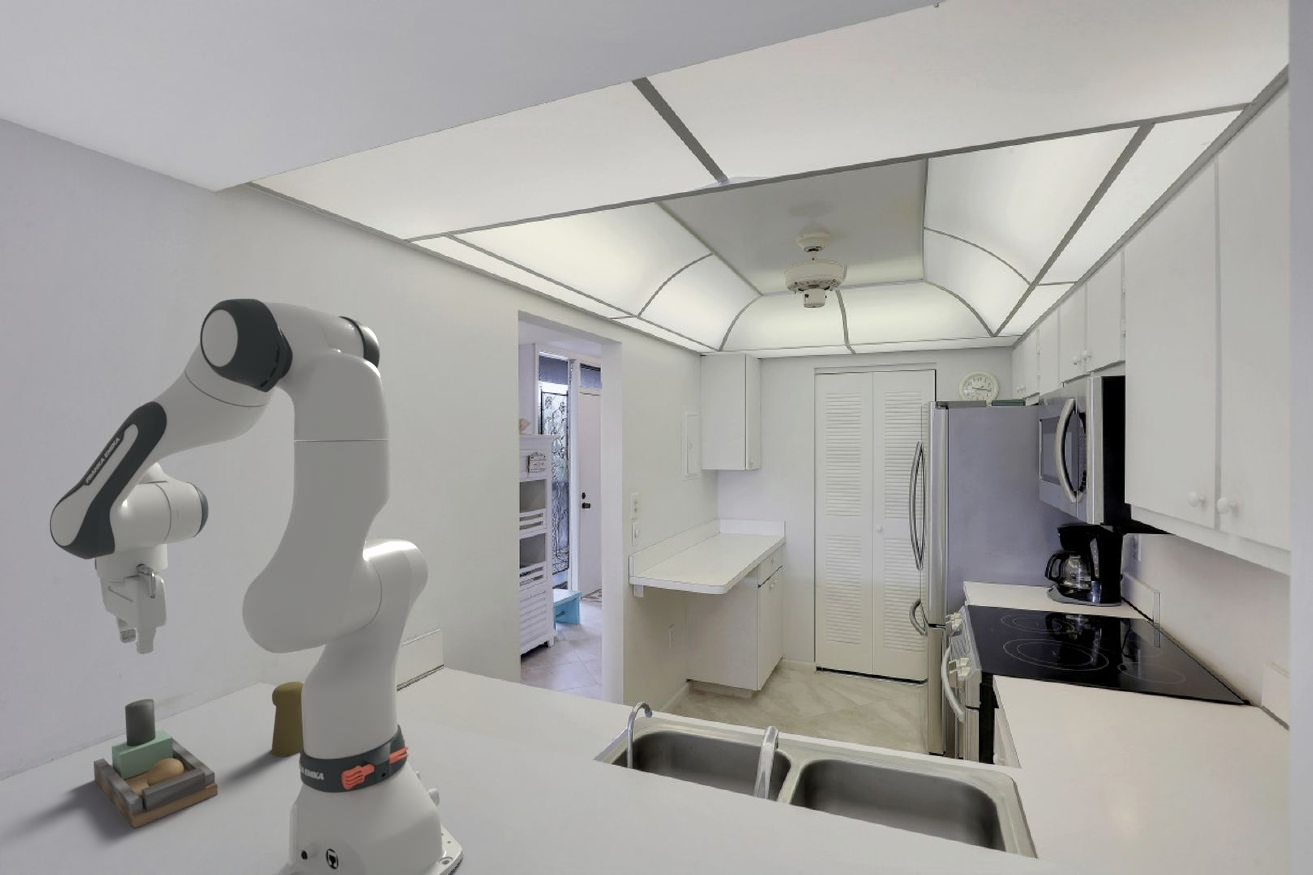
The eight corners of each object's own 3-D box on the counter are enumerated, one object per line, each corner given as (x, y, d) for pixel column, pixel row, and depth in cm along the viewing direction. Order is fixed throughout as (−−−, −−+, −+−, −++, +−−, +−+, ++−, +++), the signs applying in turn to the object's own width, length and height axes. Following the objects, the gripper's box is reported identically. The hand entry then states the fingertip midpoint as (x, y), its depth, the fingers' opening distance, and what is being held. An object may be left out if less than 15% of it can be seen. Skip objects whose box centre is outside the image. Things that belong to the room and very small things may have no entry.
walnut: (188, 786, 96) (187, 757, 96) (152, 800, 92) (151, 770, 92) (179, 777, 98) (177, 749, 98) (143, 791, 95) (142, 762, 95)
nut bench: (217, 793, 96) (216, 767, 96) (134, 828, 88) (133, 799, 88) (170, 753, 109) (169, 730, 109) (94, 779, 101) (93, 754, 101)
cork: (293, 757, 106) (290, 692, 106) (262, 754, 108) (259, 690, 108) (319, 739, 112) (316, 678, 112) (289, 737, 114) (287, 676, 113)
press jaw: (173, 761, 103) (170, 700, 103) (121, 780, 98) (118, 716, 98) (163, 752, 106) (160, 693, 106) (112, 770, 101) (109, 708, 101)
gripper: (178, 564, 98) (181, 653, 98) (139, 551, 111) (142, 630, 111) (126, 572, 93) (130, 666, 93) (91, 558, 106) (94, 640, 106)
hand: (136, 646), depth 102 cm, fingers open, 8 cm apart
